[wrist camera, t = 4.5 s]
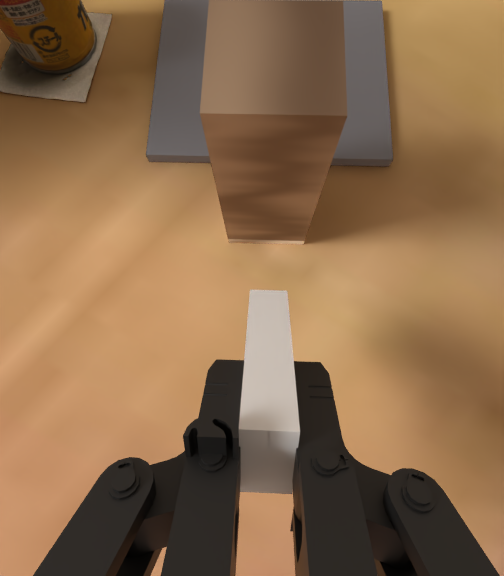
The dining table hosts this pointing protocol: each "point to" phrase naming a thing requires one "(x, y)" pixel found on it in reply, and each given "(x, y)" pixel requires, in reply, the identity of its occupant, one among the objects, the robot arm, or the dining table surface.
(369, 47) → the mat
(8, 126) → the dining table surface
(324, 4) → the walnut block
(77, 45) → the condiment
